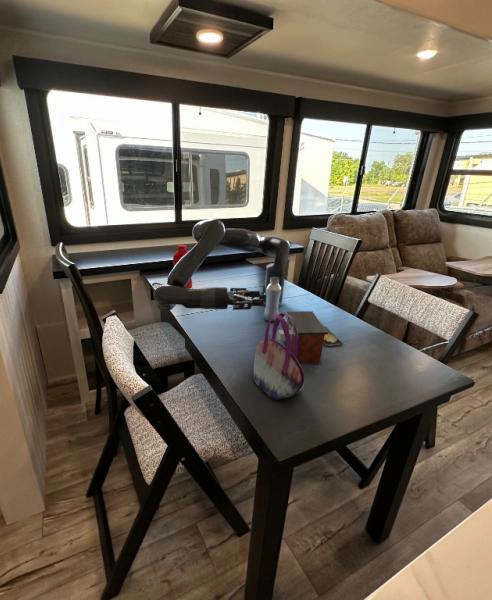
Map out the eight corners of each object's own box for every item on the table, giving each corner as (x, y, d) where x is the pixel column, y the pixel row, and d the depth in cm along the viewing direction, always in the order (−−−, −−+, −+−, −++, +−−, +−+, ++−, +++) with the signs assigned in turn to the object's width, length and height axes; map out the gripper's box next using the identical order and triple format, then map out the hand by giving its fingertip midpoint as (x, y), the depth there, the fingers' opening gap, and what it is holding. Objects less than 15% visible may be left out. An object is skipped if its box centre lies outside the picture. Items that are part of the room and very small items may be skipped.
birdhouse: (294, 364, 109) (298, 332, 104) (282, 340, 125) (286, 311, 119) (322, 364, 110) (328, 332, 105) (308, 339, 125) (312, 311, 120)
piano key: (279, 341, 113) (280, 334, 112) (277, 337, 116) (278, 329, 115) (294, 340, 113) (295, 333, 112) (292, 336, 116) (293, 329, 115)
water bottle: (192, 293, 167) (191, 248, 157) (172, 292, 169) (170, 246, 159) (196, 287, 175) (195, 244, 165) (177, 286, 177) (176, 242, 167)
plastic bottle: (266, 315, 145) (270, 274, 137) (280, 318, 142) (284, 277, 134) (261, 320, 140) (264, 278, 132) (274, 324, 137) (279, 281, 129)
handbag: (243, 372, 105) (247, 304, 95) (267, 363, 109) (273, 298, 99) (285, 412, 88) (296, 336, 78) (311, 400, 93) (324, 326, 83)
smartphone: (324, 325, 135) (342, 343, 122) (324, 327, 135) (342, 344, 122) (309, 326, 134) (326, 344, 120) (309, 328, 134) (325, 346, 121)
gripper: (214, 296, 98) (266, 296, 99) (213, 280, 111) (258, 280, 112) (214, 317, 101) (264, 317, 102) (212, 299, 114) (257, 299, 115)
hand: (261, 298), depth 107 cm, fingers open, 7 cm apart
